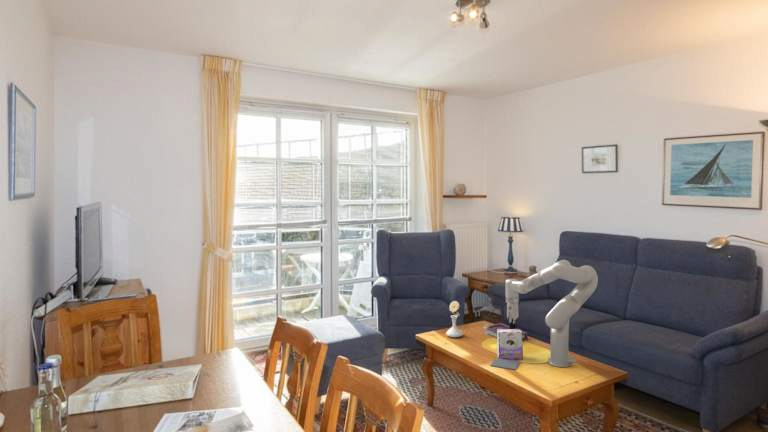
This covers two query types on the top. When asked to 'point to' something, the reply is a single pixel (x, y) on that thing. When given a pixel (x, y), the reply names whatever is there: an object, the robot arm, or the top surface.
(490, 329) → the book
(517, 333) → the candy box
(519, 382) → the top surface
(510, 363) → the mat
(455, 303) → the flower in vase
